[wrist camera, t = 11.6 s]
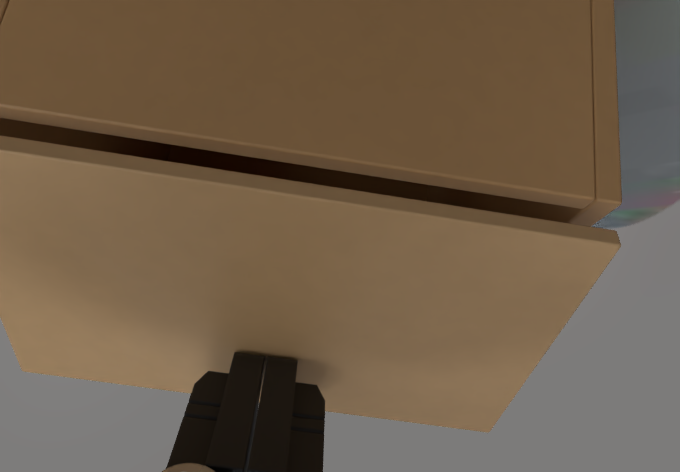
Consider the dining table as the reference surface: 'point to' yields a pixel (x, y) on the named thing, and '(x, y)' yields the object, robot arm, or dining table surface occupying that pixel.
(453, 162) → the carton
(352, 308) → the flap
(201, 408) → the robot arm
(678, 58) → the dining table surface
